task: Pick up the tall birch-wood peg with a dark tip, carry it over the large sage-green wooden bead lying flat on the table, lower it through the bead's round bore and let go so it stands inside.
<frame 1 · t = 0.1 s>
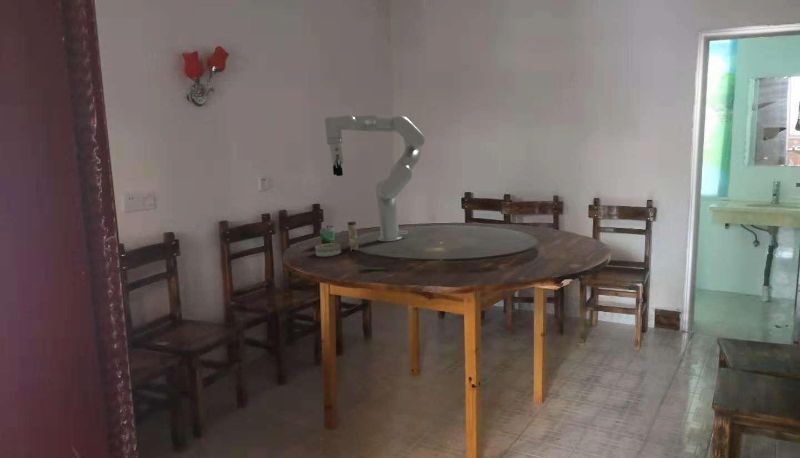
hand: (338, 175, 319), 37 cm above the table, tool pointing down, fingers open, 9 cm apart
bead: (328, 253, 308), on the table
food container: (331, 246, 329), on the table
peg: (354, 250, 311), on the table
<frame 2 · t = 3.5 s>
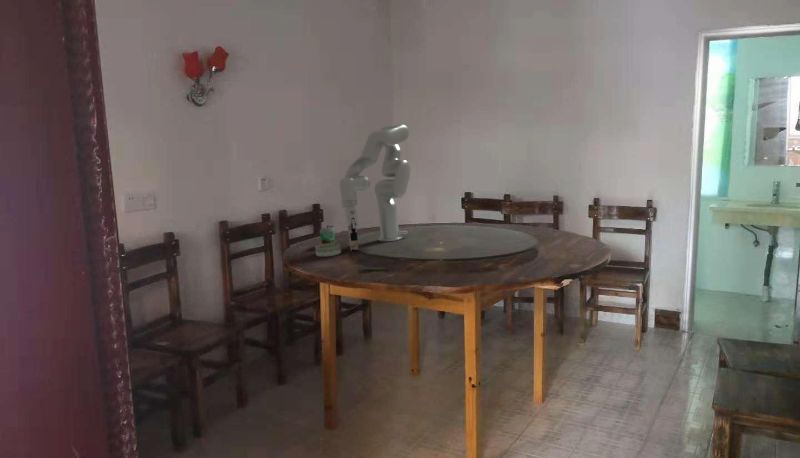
hand: (353, 239, 310), 5 cm above the table, tool pointing down, fingers closed on peg, 4 cm apart
peg: (354, 250, 311), on the table, touching gripper
everything else where it was.
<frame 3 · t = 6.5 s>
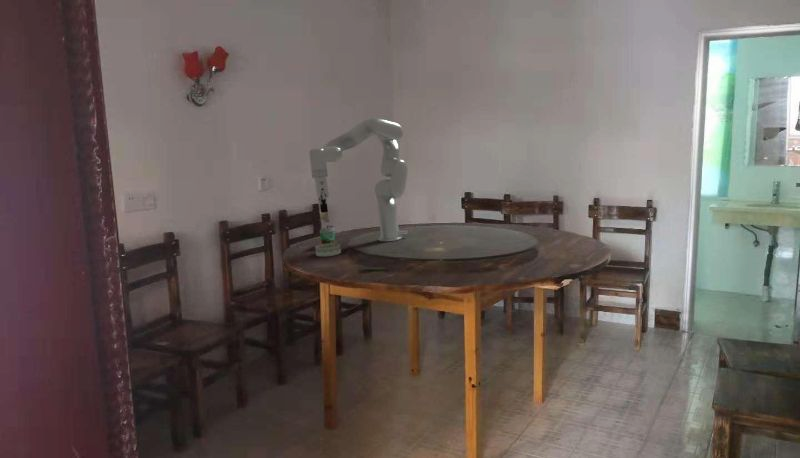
hand: (323, 211, 305), 21 cm above the table, tool pointing down, fingers closed on peg, 4 cm apart
peg: (324, 221, 306), point 16 cm above the table, touching gripper
everything else where it was.
when the fingers open (7 cm above the table, at t = 9.4 s): peg drops 1 cm, resting in bead.
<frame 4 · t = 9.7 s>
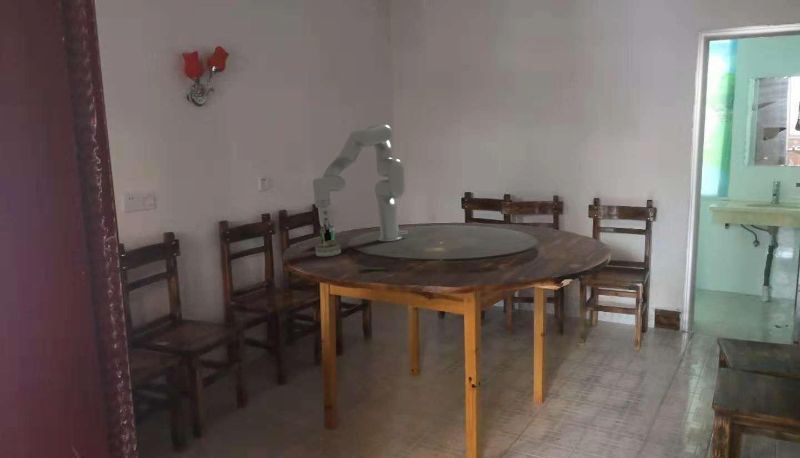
hand: (327, 239, 307), 7 cm above the table, tool pointing down, fingers open, 7 cm apart
peg: (328, 253, 308), resting in bead
everything else where it was.
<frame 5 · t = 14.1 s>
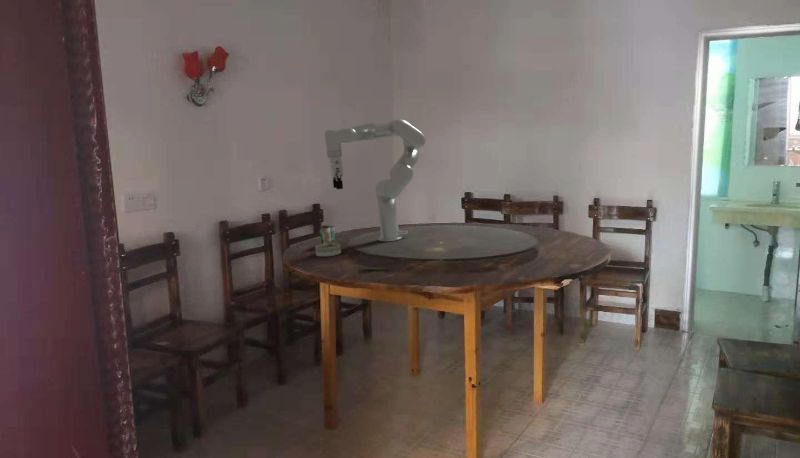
hand: (338, 188, 317), 30 cm above the table, tool pointing down, fingers open, 9 cm apart
nothing on the table moved.
at the end: peg 0.1 cm from the bead (horizontally); peg resting in bead; peg tilted 0° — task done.
